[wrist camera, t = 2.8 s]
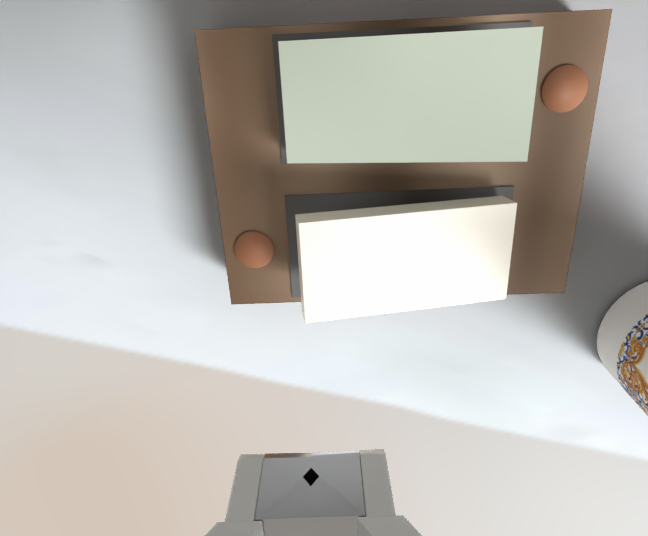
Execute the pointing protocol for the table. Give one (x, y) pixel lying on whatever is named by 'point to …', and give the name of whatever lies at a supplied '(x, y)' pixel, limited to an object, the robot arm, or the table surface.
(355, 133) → the block
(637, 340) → the bath foam
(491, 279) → the block
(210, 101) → the switch plate
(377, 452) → the robot arm
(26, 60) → the table surface
